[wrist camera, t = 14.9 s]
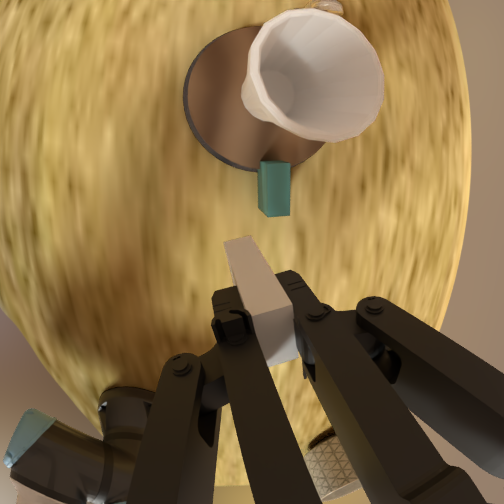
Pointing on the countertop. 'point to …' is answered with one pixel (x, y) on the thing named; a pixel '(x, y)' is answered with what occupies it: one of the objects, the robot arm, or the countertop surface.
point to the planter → (331, 469)
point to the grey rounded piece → (327, 6)
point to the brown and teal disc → (243, 121)
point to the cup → (313, 76)
